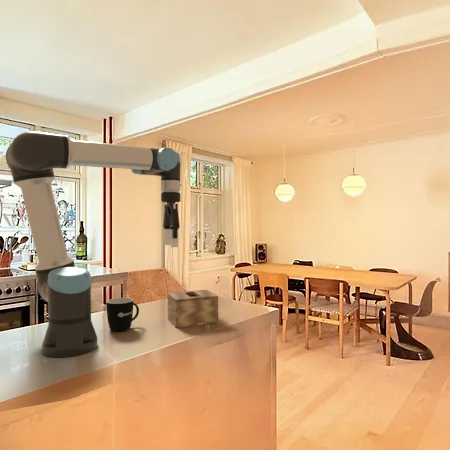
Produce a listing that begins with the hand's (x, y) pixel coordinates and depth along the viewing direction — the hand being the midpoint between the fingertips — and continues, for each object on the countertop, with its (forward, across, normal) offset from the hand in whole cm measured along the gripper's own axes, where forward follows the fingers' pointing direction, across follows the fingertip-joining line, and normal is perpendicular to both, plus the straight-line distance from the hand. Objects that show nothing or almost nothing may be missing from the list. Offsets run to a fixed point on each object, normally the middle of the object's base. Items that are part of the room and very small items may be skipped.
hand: (170, 246), depth 141 cm
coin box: (+28, -8, -6) cm, 30 cm away
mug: (+28, -10, +18) cm, 35 cm away
